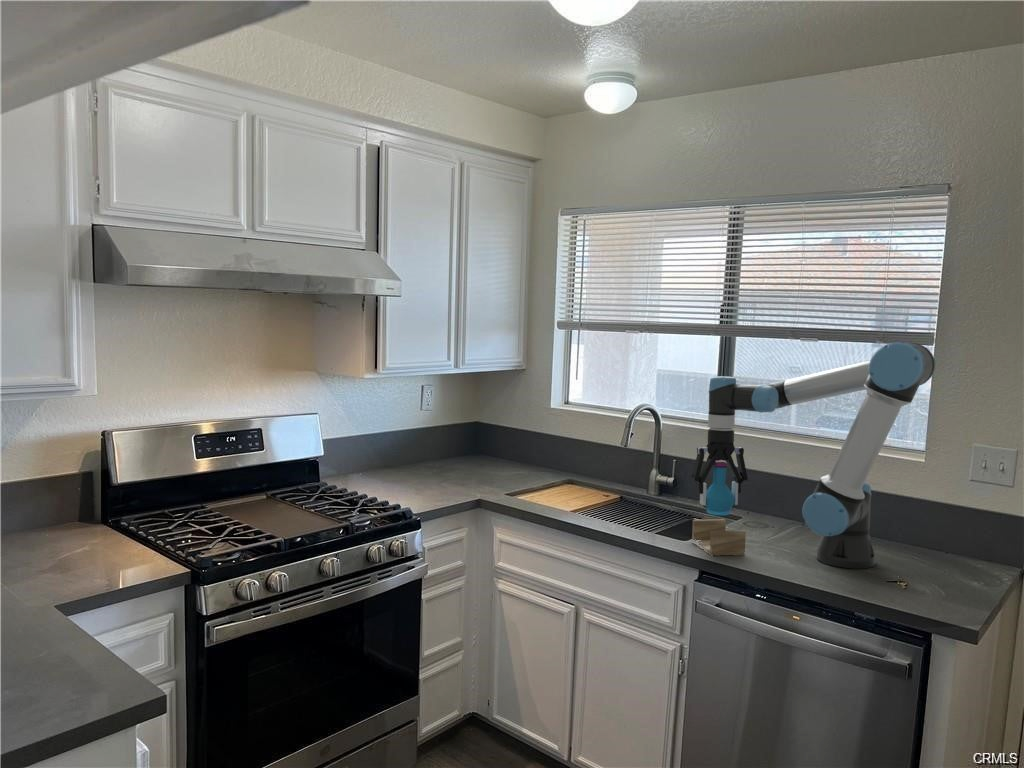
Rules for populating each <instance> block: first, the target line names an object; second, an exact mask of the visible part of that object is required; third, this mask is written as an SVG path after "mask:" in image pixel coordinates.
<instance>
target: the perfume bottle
mask: <svg viewBox="0 0 1024 768" xmlns="http://www.w3.org/2000/svg"><path fill="white" fill-rule="evenodd" d="M712 468H713V473H712V476H713V478H712V484H711V485H709V487H708V488H707V489H706V506H704V507H705V508H706V513H708V514H710V515H715V516H728V515H730V514H731V510H732V508H733V505H734V501H735V497H734V495H733V494H732V490H730V488H729V486H728V485H727V483H726V477H727V476H726V475H727V473H726V472H727V468H728V464H727V463H726V461H720V460H719V461H716V462H715V463H714V464H713V466H712Z"/></svg>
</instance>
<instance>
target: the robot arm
mask: <svg viewBox="0 0 1024 768" xmlns="http://www.w3.org/2000/svg"><path fill="white" fill-rule="evenodd" d="M935 370H936V360H935V357H934V355H933V353H932V352H931V351H930V349H928V348H927V347H926V346H925V345H922V344H920V343H917V342H905V341H894V342H890V343H888V344H885V345H883V346H881V347H880V348H878V349H877V350H876V351H875V352H874V353H873V355H872V356H871V357H870V359H869V360H867V361H862V362H858V363H853V364H849V365H845V366H840V367H837V368H836V367H835V368H832V369H828V370H827V369H826V370H823V371H818V372H814V373H810V374H807V375H802V376H798V377H794V378H789V379H786V380H779V381H776V382H772V383H771V382H770V383H764V384H763V383H762V384H740V383H737V379H736V377H734V376H724V375H723V376H720V375H719V376H717V375H716V376H712V377H710V380H709V390H708V414H707V415H708V417H707V420H708V421H707V426H708V430H707V445H706V446H704V447H700V446H697V447H696V454H697V455H696V457H695V462H694V465H693V469H692V474H691V477H690V478H691V480H693V481H695V482H697V483H696V484H697V487H696V488H697V491H696V492H697V493H698V494H699V505H701V506H703V507H705V506H706V491H707V483H706V482H705V481H706V479H707V477H708V475H709V474H710V471H711V470H712V468H713V466H714V465H713V464H714V463H715V462H717V461H719V462H720V461H723V462H726V463H727V464H728V465H727V468H729V471H730V473H731V476H732V477H733V480H734V481H731V493H732V494H733V495H734V497H735V501H734V504H733V505H735V506H738V502H739V501H738V499H739V494H741V489H742V483H743V482H744V481H747V480H748V479H749V478H748V473H747V470H746V469H747V468H746V463H745V458H744V452H745V449H744V447H740V446H735V445H734V443H735V431H734V428H735V420H736V419H735V417H736V411H747V412H759V413H761V414H762V413H773V412H774V411H775V410H777V409H781V408H785V407H789V406H793V405H798V404H803V403H808V402H813V401H817V400H822V399H826V398H831V397H837V396H842V395H845V394H851V393H857V392H861V391H866V394H865V397H864V399H863V402H862V403H861V405H860V407H859V409H858V411H857V414H856V416H855V419H854V421H853V423H852V425H851V427H850V429H849V431H848V433H847V435H846V438H845V439H844V442H843V444H842V446H841V449H839V452H838V455H837V456H836V459H835V461H834V462H833V465H832V467H831V470H830V471H829V473H828V474H825V475H823V476H820V479H818V480H819V481H818V482H817V485H816V487H815V489H814V491H813V493H812V494H810V495H809V496H808V497H807V498H806V499H805V501H804V503H803V505H802V510H801V511H802V512H801V515H802V517H803V520H804V523H805V524H806V525H807V527H808V528H809V530H811V531H812V532H814V533H815V534H817V535H820V536H821V539H820V541H819V544H818V547H817V549H816V560H818V561H820V562H822V563H824V564H826V565H829V566H834V567H837V568H844V569H857V570H858V569H870V568H873V567H875V566H876V555H875V550H874V548H873V545H872V541H871V538H870V527H871V526H870V524H871V504H872V503H871V502H872V495H873V494H872V487H871V485H870V484H869V483H867V482H866V481H867V479H868V477H869V475H870V472H871V471H872V468H873V467H874V465H875V462H876V460H877V458H878V456H879V454H880V452H881V451H882V448H883V446H884V444H885V442H886V440H887V437H888V436H889V434H890V431H891V429H892V427H893V425H894V423H895V421H896V419H897V418H898V415H899V413H900V411H901V409H902V407H904V406H907V405H909V404H911V403H913V402H912V401H913V400H914V397H915V395H916V394H917V392H918V390H919V387H920V386H922V385H924V384H926V383H927V382H928V381H929V380H931V378H932V377H933V375H934V373H935ZM707 453H708V456H707V458H706V461H705V460H704V459H705V455H706V454H707ZM733 453H734V454H735V458H736V464H737V467H738V469H737V467H736V464H735V463H734V458H733V456H732V454H733ZM704 461H705V464H704ZM703 464H704V465H703Z"/></svg>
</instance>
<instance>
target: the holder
mask: <svg viewBox="0 0 1024 768" xmlns="http://www.w3.org/2000/svg"><path fill="white" fill-rule="evenodd" d="M726 523H727V522H726V519H724V518H714V519H712V518H710V519H709V518H708V519H707V518H706V519H692V526H691V527H692V529H691V533H692V534H691V535H692V536H691V540H695V539H696V540H701V541H699V542H698V543H699V545H701V546H702V547H703V548H704V549H705V550H706V551H707V552H708V553H710V554H711V555H733V556H745V553H746V537H747V534H746V533H747V531H746V530H744V529H739V530H738V529H736V530H733V529H731V530H726V526H727V525H726ZM696 540H695V541H696ZM701 542H702V543H701ZM708 553H707V554H708ZM711 555H710V556H711Z"/></svg>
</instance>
